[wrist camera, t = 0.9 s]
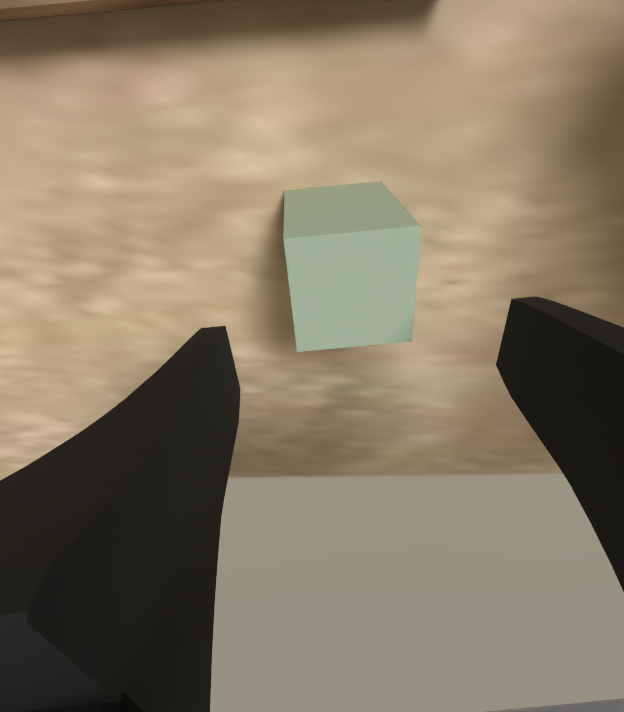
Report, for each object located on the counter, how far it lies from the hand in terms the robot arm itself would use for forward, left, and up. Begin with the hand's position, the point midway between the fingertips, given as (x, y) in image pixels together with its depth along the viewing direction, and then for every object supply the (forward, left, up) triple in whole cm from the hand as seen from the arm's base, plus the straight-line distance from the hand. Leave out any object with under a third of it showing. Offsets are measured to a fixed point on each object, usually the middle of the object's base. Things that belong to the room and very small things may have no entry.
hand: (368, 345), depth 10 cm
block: (0, 0, -9) cm, 9 cm away
